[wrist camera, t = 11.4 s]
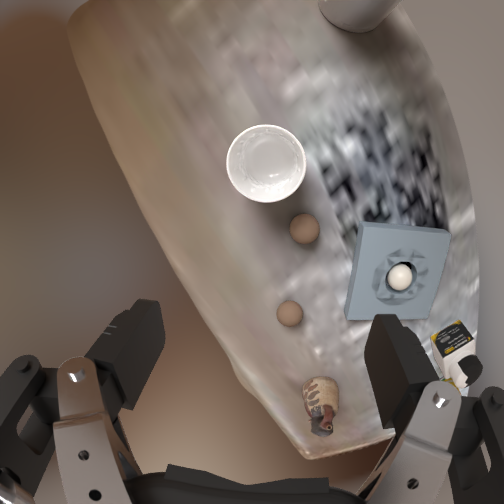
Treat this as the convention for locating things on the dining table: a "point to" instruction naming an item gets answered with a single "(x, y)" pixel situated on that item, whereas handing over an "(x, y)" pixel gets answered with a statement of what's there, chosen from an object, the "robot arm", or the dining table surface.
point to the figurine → (321, 404)
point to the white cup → (266, 163)
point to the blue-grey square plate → (383, 258)
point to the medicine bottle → (456, 354)
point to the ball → (399, 277)
